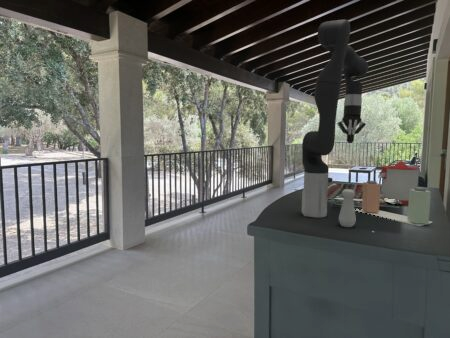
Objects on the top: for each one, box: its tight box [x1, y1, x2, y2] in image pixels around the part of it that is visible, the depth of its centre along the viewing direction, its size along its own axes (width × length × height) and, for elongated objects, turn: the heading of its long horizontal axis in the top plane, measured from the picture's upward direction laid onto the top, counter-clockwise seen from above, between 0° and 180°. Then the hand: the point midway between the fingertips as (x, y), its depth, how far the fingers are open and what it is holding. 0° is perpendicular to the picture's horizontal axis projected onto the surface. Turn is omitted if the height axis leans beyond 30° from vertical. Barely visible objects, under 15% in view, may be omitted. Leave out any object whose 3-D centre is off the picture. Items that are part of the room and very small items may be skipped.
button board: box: [355, 208, 433, 227], centre depth 136 cm, size 28×9×1 cm, turn 33°
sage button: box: [407, 187, 432, 225], centre depth 124 cm, size 5×5×12 cm
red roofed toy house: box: [377, 160, 420, 206], centre depth 161 cm, size 16×17×20 cm
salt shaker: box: [338, 188, 357, 228], centre depth 121 cm, size 6×6×13 cm
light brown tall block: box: [361, 180, 382, 212], centre depth 140 cm, size 5×5×12 cm
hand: (350, 142), depth 159 cm, fingers closed
